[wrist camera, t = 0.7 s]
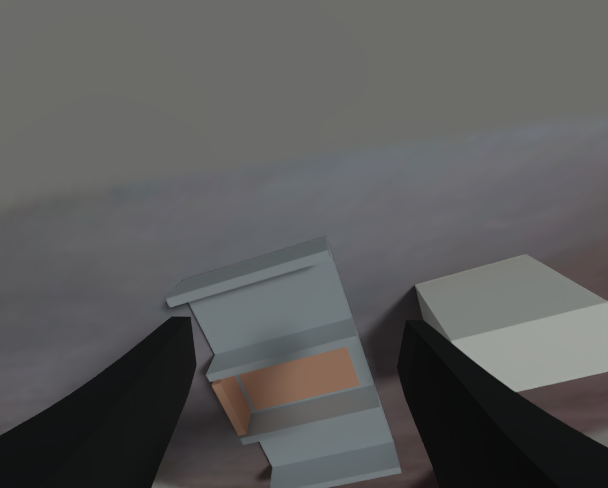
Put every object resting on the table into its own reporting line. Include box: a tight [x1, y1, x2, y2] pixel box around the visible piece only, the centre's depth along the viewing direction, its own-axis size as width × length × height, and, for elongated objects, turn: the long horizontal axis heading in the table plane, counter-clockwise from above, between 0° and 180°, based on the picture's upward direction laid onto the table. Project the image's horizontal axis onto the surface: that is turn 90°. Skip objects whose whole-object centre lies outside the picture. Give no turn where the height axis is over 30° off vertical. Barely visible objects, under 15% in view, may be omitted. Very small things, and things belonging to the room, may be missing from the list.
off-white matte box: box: [415, 254, 608, 392], centre depth 18 cm, size 4×7×6 cm, turn 109°
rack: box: [166, 236, 401, 488], centre depth 22 cm, size 18×10×2 cm, turn 19°
